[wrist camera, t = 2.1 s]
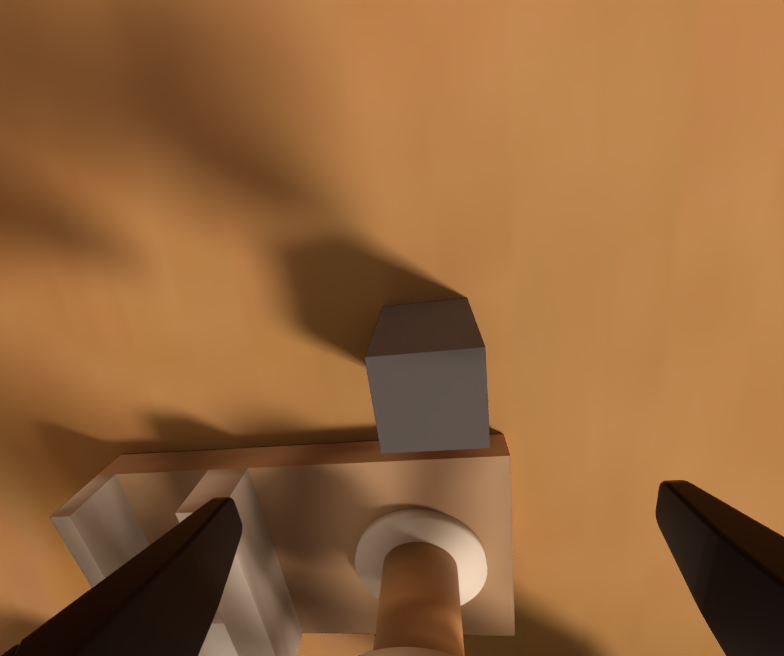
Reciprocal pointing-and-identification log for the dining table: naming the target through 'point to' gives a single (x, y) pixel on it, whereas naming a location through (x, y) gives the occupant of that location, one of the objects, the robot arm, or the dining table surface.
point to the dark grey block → (428, 378)
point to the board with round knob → (323, 540)
